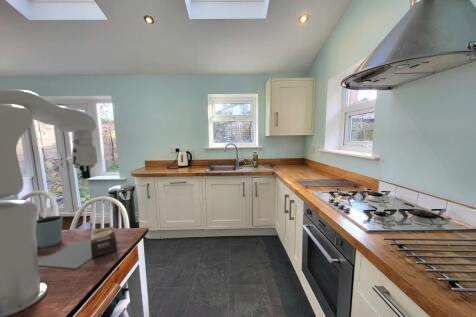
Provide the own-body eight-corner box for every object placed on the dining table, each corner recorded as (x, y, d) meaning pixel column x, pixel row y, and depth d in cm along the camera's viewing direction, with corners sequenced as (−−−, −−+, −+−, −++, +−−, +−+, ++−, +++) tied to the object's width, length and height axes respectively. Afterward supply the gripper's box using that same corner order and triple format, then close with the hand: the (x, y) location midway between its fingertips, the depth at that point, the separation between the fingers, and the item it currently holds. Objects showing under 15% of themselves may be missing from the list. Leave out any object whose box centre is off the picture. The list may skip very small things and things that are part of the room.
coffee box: (113, 225, 97) (116, 237, 85) (113, 237, 98) (117, 250, 85) (90, 230, 92) (90, 244, 79) (91, 243, 92) (91, 258, 80)
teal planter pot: (32, 245, 92) (30, 221, 91) (59, 236, 101) (57, 214, 100) (40, 250, 87) (38, 225, 86) (68, 240, 96) (66, 217, 95)
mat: (76, 269, 73) (76, 268, 73) (32, 265, 76) (32, 264, 76) (114, 243, 92) (114, 243, 92) (78, 241, 95) (78, 240, 95)
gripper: (75, 142, 89) (78, 181, 90) (102, 143, 104) (104, 176, 105) (61, 142, 90) (64, 181, 91) (90, 143, 105) (92, 176, 106)
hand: (86, 178), depth 98 cm, fingers closed
